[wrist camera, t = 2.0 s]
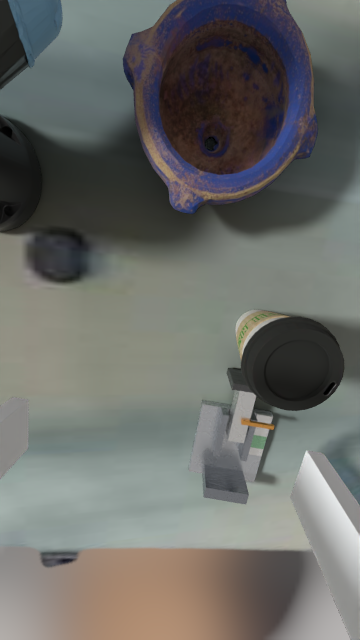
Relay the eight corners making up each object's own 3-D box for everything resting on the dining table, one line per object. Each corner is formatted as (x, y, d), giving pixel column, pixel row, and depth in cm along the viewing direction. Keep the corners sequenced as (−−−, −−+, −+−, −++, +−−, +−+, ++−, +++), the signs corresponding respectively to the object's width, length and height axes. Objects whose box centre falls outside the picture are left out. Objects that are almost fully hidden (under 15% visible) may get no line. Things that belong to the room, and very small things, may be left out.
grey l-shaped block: (202, 400, 40) (203, 421, 34) (270, 411, 40) (283, 434, 34) (188, 465, 43) (188, 494, 38) (252, 476, 43) (261, 506, 38)
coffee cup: (245, 286, 35) (283, 301, 20) (299, 316, 36) (374, 353, 21) (212, 339, 37) (225, 388, 23) (264, 367, 38) (309, 432, 23)
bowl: (296, 190, 32) (343, 158, 22) (173, 234, 34) (165, 223, 24) (266, 36, 28) (306, -87, 18) (129, 96, 30) (99, 16, 20)
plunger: (228, 367, 37) (233, 383, 33) (276, 375, 37) (289, 392, 32) (215, 425, 40) (218, 447, 35) (260, 432, 40) (270, 456, 35)
